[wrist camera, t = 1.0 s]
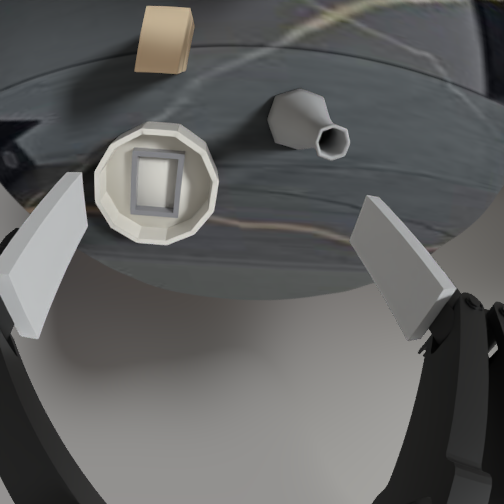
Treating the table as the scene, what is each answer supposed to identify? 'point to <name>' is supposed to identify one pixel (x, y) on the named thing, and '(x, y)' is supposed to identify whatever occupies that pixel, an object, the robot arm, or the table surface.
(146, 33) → the wooden block
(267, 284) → the table surface
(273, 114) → the flask
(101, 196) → the white round dish
